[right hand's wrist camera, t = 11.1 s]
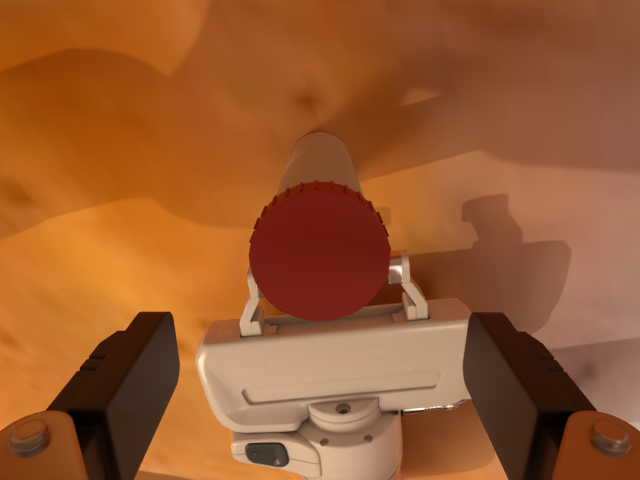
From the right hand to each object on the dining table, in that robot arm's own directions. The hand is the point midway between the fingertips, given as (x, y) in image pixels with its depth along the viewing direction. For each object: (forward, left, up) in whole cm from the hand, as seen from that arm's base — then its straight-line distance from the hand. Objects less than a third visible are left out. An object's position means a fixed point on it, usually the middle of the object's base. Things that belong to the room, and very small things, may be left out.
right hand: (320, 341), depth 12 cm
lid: (0, 0, -6) cm, 6 cm away
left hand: (+2, -5, -17) cm, 18 cm away
